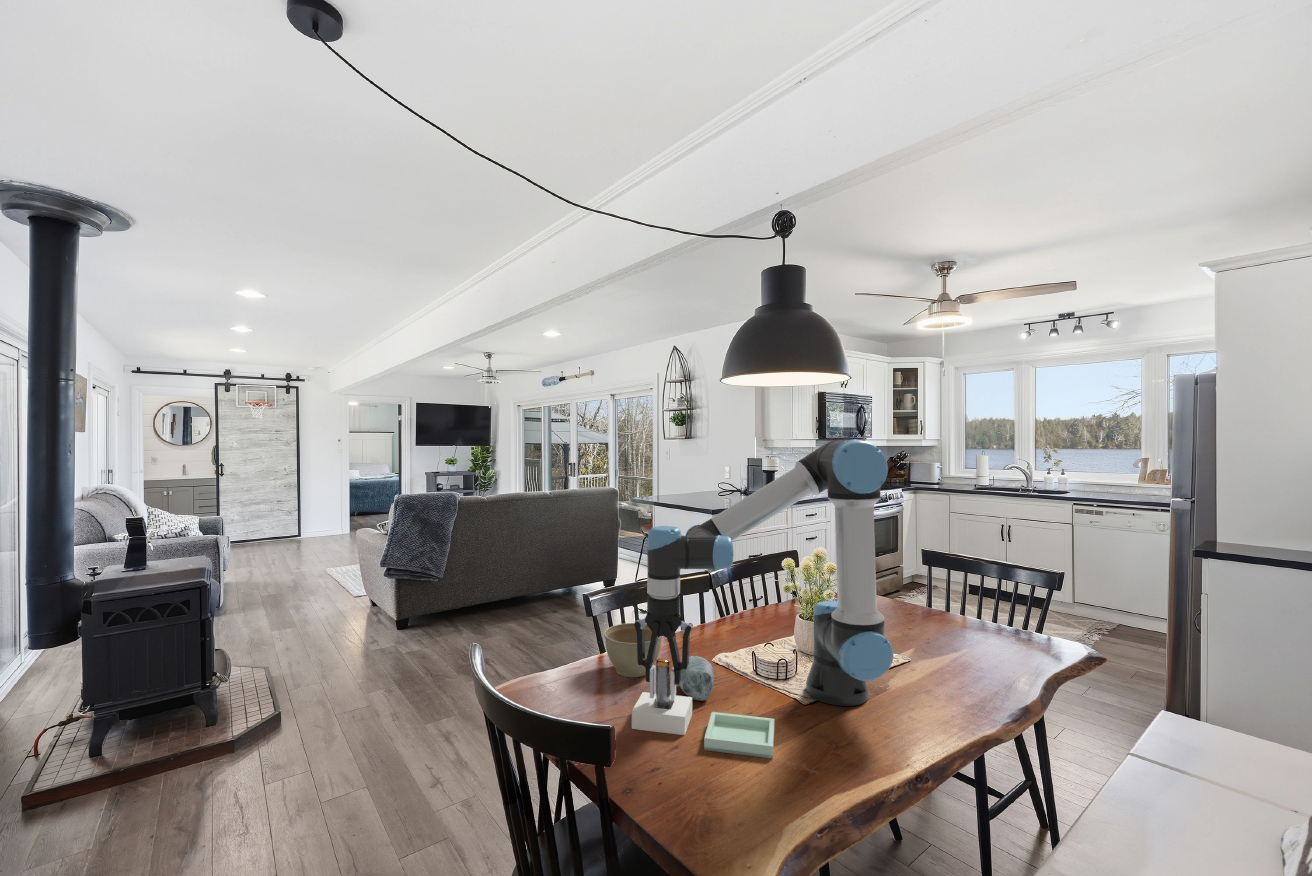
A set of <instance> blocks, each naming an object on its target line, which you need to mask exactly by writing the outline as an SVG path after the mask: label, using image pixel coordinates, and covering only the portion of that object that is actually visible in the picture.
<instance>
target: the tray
mask: <svg viewBox="0 0 1312 876" xmlns="http://www.w3.org/2000/svg"><path fill="white" fill-rule="evenodd" d="M706 727H707V728H706V730H705V734H704V738H703V739H704V740H703V743H704V744H703V745H704V746H703V749H704V750H703V751H710V752H719V753H724V754H725V753H727V754H731V755H732V754H734V755H740V756H749V757H757V758H764V759H771V760H773V758H774V757H773V756H774V744H775V743H774V741H775V740H774V739H775V718H770V717H762V716H754V715H753V716H752V715H744V714H737V713H736V714H734V713H726V712H716V711H711V713H710V717H709V720H708V724H707V726H706Z"/></svg>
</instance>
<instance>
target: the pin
mask: <svg viewBox="0 0 1312 876" xmlns="http://www.w3.org/2000/svg"><path fill="white" fill-rule="evenodd" d="M655 664H656V708H662V709H670V695H671V660H670V658H667V657H659V658H658V657H657V659H656V661H655Z"/></svg>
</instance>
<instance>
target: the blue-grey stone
mask: <svg viewBox="0 0 1312 876" xmlns="http://www.w3.org/2000/svg"><path fill="white" fill-rule="evenodd" d="M714 679H715V671H714V667H713V665H712V664H711V663H710V662H709V661H708V660H707V659H705V658H704V657H702V656H699V655H691V656H690V655H689V664H688V667H687V669H682V670H681V681H680V683H679V685H678V686H679V688H680V689H681V691H682V692H683V693H684V694H685V695H686V696H687V697H692V700H695V701H700V702H703V701H706V700H707V699H708V698H709V697H710V695H711V694H712V690H713V688H714V683H715V682H714Z"/></svg>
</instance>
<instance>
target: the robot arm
mask: <svg viewBox="0 0 1312 876" xmlns="http://www.w3.org/2000/svg"><path fill="white" fill-rule="evenodd" d="M794 465H795V466H794V467H793V468H792V469H790V470H788V472H786V473H784V474H782V475H781V476H779V477H777V478H775V479H774V480H772V481H770V482H769V483H768V484H765V485H764V486H762V487H761V488H759V489H757V490H756V491H753V493H751V494H749V495H747V496H746V497H744V498H743V499H741V500H739V501H737V502H736V503H733V505H731V506H729V507H727V508H726V509H724V510H723V511H721V512H719V513H717V514H716V515H714V516H713V517H711V518H710V519H708V520H706V521H704V522H703V523H701V524H694V525H693V526H691V527H689V528H688V529H687V531H686V533H685V535H682V533H681V529H680V528H679V527H676V526H669V525H658V526H653V527H651V528H650V529H649V531H648V534H647V535H648V536H647V558H646V559H647V580H646V581H647V582H646V584H647V586H646V589H647V590H646V593H647V594H648V595H647V597H646V601H647V602H646V603H647V604H646V615H645V616H644V618H638V619H636V620H635V622H633V623H634V626H635V629H636V632H637V660H638V665H642V666H644V667H645V669H646V675H645V682H647V683H649V693H650V698H653V697H654V695H655V694H656V665H655V664H653V665H652V663H653V659H654V654H655V650H656V645H657V641H658V637H659V636H662V637H665V638H667V643H668V645H669V647H668V648H669V651H670V656H671V660H672V661H671V662H672V666H673V667H672V669H670V695H671V701H674V699H675V697H676V696H677V686H679V683H680V681H681V670H682V669H687V667H688V664H689V657H690V644H691V643H690V641H691V632H692V629H693V626H694V624H693V623H692V622H689V623H687V622H685V621H684V620H683V618H682V616H681V597H680V595H679V594H681V570H716V571H718V570H724V569H726V570H727V569H730V568H731V567H733V563H734V545H733V544H734V543H733V541H735V540H736V539H738V538H739V537H742V536H744V535H745V534H746V533H748V532H750V531H751V530H753V529H755V528H757V526H760V525H761V524H763V523H764V522H766V521H768V520H770V519H771V518H773V517H774V516H777V515H778V514H780V513H781V512H783V511H784V510H786V509H788V508H789V507H791V506H792V505H794V504H796V503H798V502H800V501H801V500H803V499H804V498H806V497H808V496H810V495H819V494H821V493H822V492H824V491H826V490H827V499H828V500H829V501H830V502H831V503H832V504H833V506H834V518H835V520H834V521H835V522H834V525H835V550H836V551H835V553H836V554H835V555H836V559H835V560H836V586H837V588H836V589H837V600H825V601H824V600H823V601H820V602H817V603H816V604H815V605H814V608H813V615H812V617H813V661H812V664H811V667H810V669H809V672H808V675H807V677H806V684H805V686H806V688H805V689H806V692H807V694H808V695H809V696H810V697H811V696H812V698H813V699H814V700H817V701H819V702H822V703H824V704H829V705H833V706H840V707H852V706H853V707H854V706H859V705H862V704H864V703H866V702H867V701H868V700H869V686H868V682H869V681H874V680H876V679H879V678H881V677H883V675H884V674H886V673H887V672H888V671H889V669H890V668H891V667H892V664H893V661H894V650H893V647H892V646H893V645H891V642H890V640H889V639H888V638H887V637H886V636H885V633H886V631H885V616H884V614H882V613H881V612H880V611H879V610H878V604H877V601H878V600H877V576H876V573H877V572H876V568H877V566H876V543H875V542H876V539H875V538H876V537H875V509H874V507H875V505H876V504H877V503H878V502H879V501H880V500H881V499H882V497H881V495H882V494H881V487H882V485H884V483H885V482H886V479H887V477H888V472H889V465H888V461H887V458H886V456H885V454H884V452H883V451H882V450H881V449H880V448H879V447H878V446H877V445H875V444H873V443H871V442H869V441H865V440H862V439H856V438H854V439H834V440H833V439H832V440H830V441H827V442H826V443H824V444H822V445H820V446H819V447H818V448H816V449H815V450H813V451H811V452H810V453H809V454H807V455H806V456H804V457H802V458H801V459H799V460H797V461H796V462H795V464H794ZM645 624H647V625H648V627H649V628H650V630H651V631H652V635H651V641H650V646H649V650H648V655H647V659H646V658H645V631H644V628H645V627H646V625H645ZM679 628H681V633H683V634H682V648H681V649H682V650H681V652H682V655H681V658H680V653H679V647H678V642H677V636H676V635H677V634H676V632H677V630H679Z"/></svg>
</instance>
